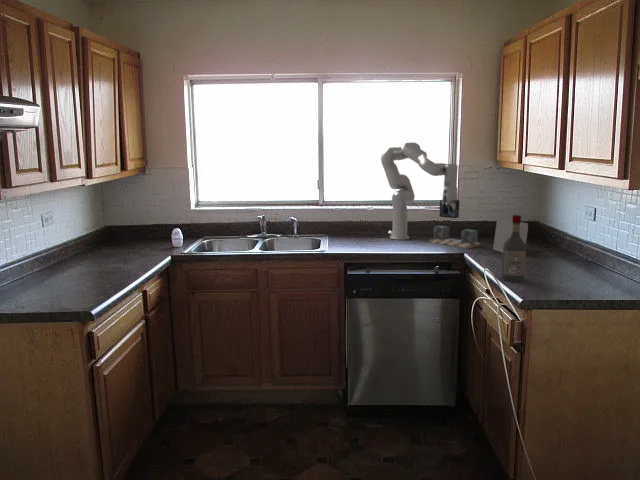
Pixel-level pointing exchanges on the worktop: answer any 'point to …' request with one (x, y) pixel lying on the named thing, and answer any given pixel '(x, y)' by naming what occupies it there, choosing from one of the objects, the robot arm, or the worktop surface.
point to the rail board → (466, 239)
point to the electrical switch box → (507, 233)
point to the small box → (450, 209)
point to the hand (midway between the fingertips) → (449, 213)
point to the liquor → (514, 254)
